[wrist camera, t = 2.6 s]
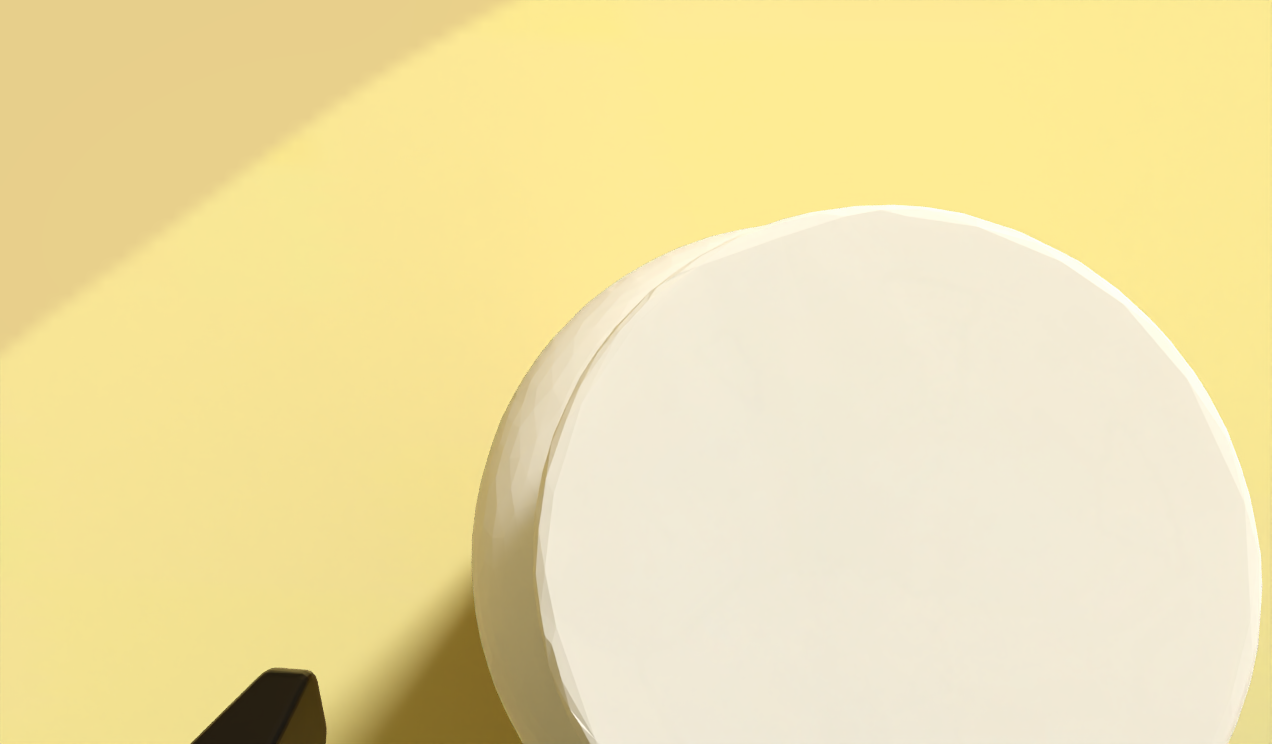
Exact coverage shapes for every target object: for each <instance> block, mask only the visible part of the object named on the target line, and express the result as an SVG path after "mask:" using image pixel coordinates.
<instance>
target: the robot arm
mask: <svg viewBox="0 0 1272 744" xmlns="http://www.w3.org/2000/svg"><path fill="white" fill-rule="evenodd" d="M191 744H326V722H325V717H324V712H323V707H322V702H321V696H320V691H319V686H318V681H317V679H316V676H315V675H314V674H313V673H312V672H311V671H309V670H301V669H288V668H271V669H269V670H267V671H265V672H264V673H262V674H261V675H260V676H259V677H258V678H257V679H256V680H255V681H254V682H253V683H252V684H251V685H250V686H249V687H248V688H247V689H246V690H245V691H244V692H243V693H242V694H241V695H240V696H238V697H237V698H236V699H235V700H234V701H233V702H232V703H231V704H230V705H229V706H228V707H227V708H226V709H225V710H224V711H223V712H222V713H221V714H220V715H219V716H218V717H217V718H216V719H215V720H214V721H213V722H212V723H211V724H210V725H209V726H208V727H207V728H206V729H205V730H204V731H203V732H202V733H201V734H200V735H199V736H198V737H197V738H196V739H195V740H194V741H193V742H192V743H191Z"/></svg>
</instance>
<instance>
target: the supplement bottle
mask: <svg viewBox="0 0 1272 744" xmlns="http://www.w3.org/2000/svg"><path fill="white" fill-rule="evenodd" d="M472 581H473V595H474V605H475V614H476V619H477V624H478V629H479V634H480V640H481V644H482V648H483V651H484V655H485V658H486V662H487V665H488V668H489V671H490V674H491V677H492V680H493V684H494V686H495V689H496V691H497V693H498V695H499V698H500V700H501V702H502V705H503V707H504V709H505V711H506V713H507V715H508V717H509V719H510V721H511V723H512V725H513V727H514V729H515V731H516V732H517V734H518V736H519V738H520V740H521V741H522V743H523V744H1228V742H1229V740H1230V738H1231V736H1232V733H1233V731H1234V729H1235V727H1236V724H1237V721H1238V718H1239V715H1240V712H1241V709H1242V706H1243V704H1244V701H1245V698H1246V695H1247V692H1248V689H1249V686H1250V682H1251V677H1252V673H1253V668H1254V663H1255V658H1256V654H1257V649H1258V640H1259V626H1260V612H1261V597H1262V572H1261V553H1260V547H1259V542H1258V536H1257V530H1256V525H1255V519H1254V514H1253V509H1252V504H1251V499H1250V495H1249V492H1248V488H1247V485H1246V482H1245V479H1244V475H1243V472H1242V469H1241V466H1240V463H1239V460H1238V458H1237V455H1236V452H1235V450H1234V447H1233V444H1232V442H1231V439H1230V437H1229V434H1228V431H1227V429H1226V427H1225V425H1224V423H1223V421H1222V419H1221V418H1220V416H1219V414H1218V412H1217V410H1216V408H1215V406H1214V404H1213V402H1212V401H1211V399H1210V397H1209V395H1208V393H1207V391H1206V390H1205V388H1204V387H1203V385H1202V384H1201V382H1200V381H1199V379H1198V377H1197V376H1196V374H1195V373H1194V371H1193V370H1192V369H1191V367H1190V366H1189V365H1188V364H1187V362H1186V361H1185V360H1184V358H1183V357H1182V356H1181V355H1180V353H1179V352H1178V351H1177V349H1176V348H1175V347H1174V345H1173V344H1172V342H1171V341H1170V340H1169V339H1168V338H1167V337H1166V336H1165V335H1164V333H1163V332H1162V331H1161V330H1160V329H1159V328H1158V327H1157V326H1156V325H1155V324H1154V323H1153V322H1152V320H1151V319H1150V318H1149V317H1148V316H1146V315H1145V314H1144V313H1143V312H1142V311H1141V310H1140V309H1139V308H1138V307H1137V306H1136V305H1134V304H1133V303H1132V302H1131V301H1130V300H1129V299H1128V298H1127V297H1126V296H1125V295H1123V294H1122V293H1121V292H1120V291H1119V290H1118V289H1117V288H1115V287H1114V286H1113V285H1111V284H1110V283H1108V282H1107V281H1106V280H1104V279H1103V278H1101V277H1100V276H1099V275H1097V274H1096V273H1095V272H1093V271H1092V270H1090V269H1089V268H1088V267H1086V266H1085V265H1084V264H1082V263H1081V262H1079V261H1078V260H1076V259H1074V258H1072V257H1070V256H1068V255H1066V254H1064V253H1062V252H1060V251H1058V250H1056V249H1054V248H1052V247H1050V246H1048V245H1046V244H1044V243H1042V242H1040V241H1038V240H1036V239H1034V238H1032V237H1030V236H1028V235H1025V234H1023V233H1021V232H1019V231H1016V230H1014V229H1011V228H1008V227H1004V226H1001V225H998V224H995V223H992V222H989V221H986V220H982V219H979V218H976V217H973V216H970V215H967V214H964V213H958V212H952V211H946V210H940V209H934V208H928V207H919V206H903V205H875V206H853V207H846V208H838V209H831V210H824V211H817V212H811V213H807V214H802V215H798V216H794V217H790V218H785V219H782V220H779V221H776V222H773V223H771V224H768V225H765V226H759V227H753V228H747V229H741V230H737V231H732V232H728V233H724V234H719V235H715V236H711V237H708V238H705V239H702V240H699V241H696V242H694V243H691V244H688V245H685V246H682V247H679V248H677V249H675V250H673V251H671V252H668V253H666V254H664V255H662V256H660V257H658V258H655V259H654V260H652V261H650V262H648V263H646V264H644V265H643V266H641V267H639V268H637V269H636V270H634V271H632V272H631V273H629V274H627V275H625V276H624V277H622V278H621V279H619V280H618V281H616V282H615V283H614V284H612V285H611V286H609V287H608V288H606V289H605V290H604V291H603V292H601V293H600V294H599V295H597V296H596V297H595V298H593V299H592V300H591V301H590V302H588V303H587V304H586V305H585V306H584V307H583V308H582V309H581V310H580V311H579V312H578V313H577V314H576V315H575V316H574V317H573V318H572V319H571V320H570V321H569V322H568V323H567V324H566V325H565V326H564V327H563V328H562V329H561V330H560V331H559V333H558V334H557V335H556V336H555V337H554V338H553V339H552V340H551V341H550V342H549V344H548V345H547V346H546V347H545V349H544V350H543V351H542V352H541V354H540V355H539V356H538V358H537V359H536V361H535V362H534V364H533V365H532V366H531V368H530V369H529V371H528V372H527V374H526V375H525V377H524V378H523V380H522V382H521V384H520V385H519V387H518V389H517V391H516V392H515V394H514V396H513V398H512V399H511V401H510V403H509V405H508V407H507V409H506V411H505V413H504V415H503V417H502V419H501V422H500V424H499V427H498V430H497V432H496V435H495V438H494V440H493V443H492V446H491V449H490V452H489V455H488V458H487V462H486V465H485V469H484V472H483V476H482V480H481V484H480V489H479V494H478V499H477V504H476V510H475V518H474V526H473V535H472Z"/></svg>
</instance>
